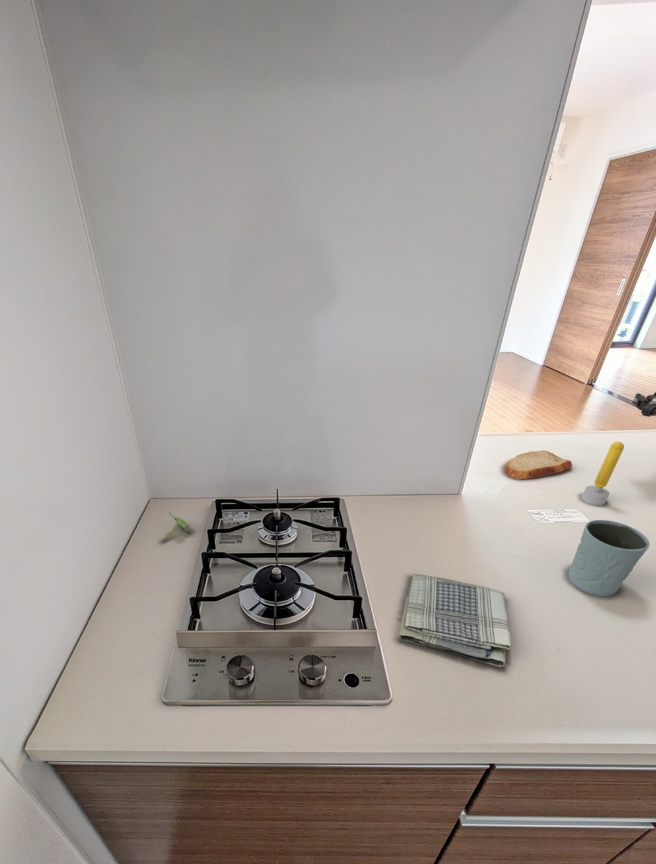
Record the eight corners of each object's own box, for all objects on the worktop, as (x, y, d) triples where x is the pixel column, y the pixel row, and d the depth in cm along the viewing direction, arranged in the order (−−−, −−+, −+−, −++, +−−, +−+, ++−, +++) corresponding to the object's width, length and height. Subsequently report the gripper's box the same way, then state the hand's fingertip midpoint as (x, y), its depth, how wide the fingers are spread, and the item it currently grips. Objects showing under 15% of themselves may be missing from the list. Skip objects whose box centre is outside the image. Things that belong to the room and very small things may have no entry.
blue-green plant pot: (557, 581, 89) (578, 534, 82) (572, 558, 95) (593, 513, 88) (615, 607, 83) (644, 558, 76) (627, 580, 89) (655, 533, 82)
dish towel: (409, 576, 91) (411, 564, 89) (503, 597, 85) (507, 585, 84) (396, 643, 77) (399, 630, 75) (508, 674, 71) (514, 661, 69)
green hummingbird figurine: (175, 551, 107) (191, 530, 109) (177, 551, 100) (194, 528, 101) (151, 533, 106) (168, 512, 108) (151, 532, 99) (169, 509, 100)
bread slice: (504, 478, 125) (508, 466, 123) (503, 452, 139) (506, 441, 137) (576, 489, 119) (581, 477, 117) (567, 461, 133) (572, 450, 131)
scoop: (603, 497, 115) (630, 440, 106) (605, 507, 111) (634, 448, 102) (580, 493, 117) (605, 436, 108) (582, 502, 113) (607, 444, 104)
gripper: (652, 377, 117) (623, 390, 109) (714, 390, 108) (687, 405, 100) (640, 404, 122) (610, 418, 114) (698, 418, 112) (671, 435, 104)
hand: (647, 412), depth 107 cm, fingers closed
